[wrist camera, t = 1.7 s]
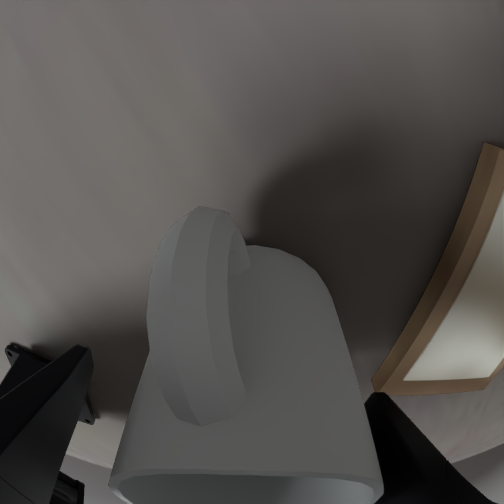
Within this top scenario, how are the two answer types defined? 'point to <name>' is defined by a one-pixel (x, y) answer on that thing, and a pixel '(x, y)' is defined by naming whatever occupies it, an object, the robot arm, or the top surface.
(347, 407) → the cup
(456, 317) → the wooden picture frame
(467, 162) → the top surface
